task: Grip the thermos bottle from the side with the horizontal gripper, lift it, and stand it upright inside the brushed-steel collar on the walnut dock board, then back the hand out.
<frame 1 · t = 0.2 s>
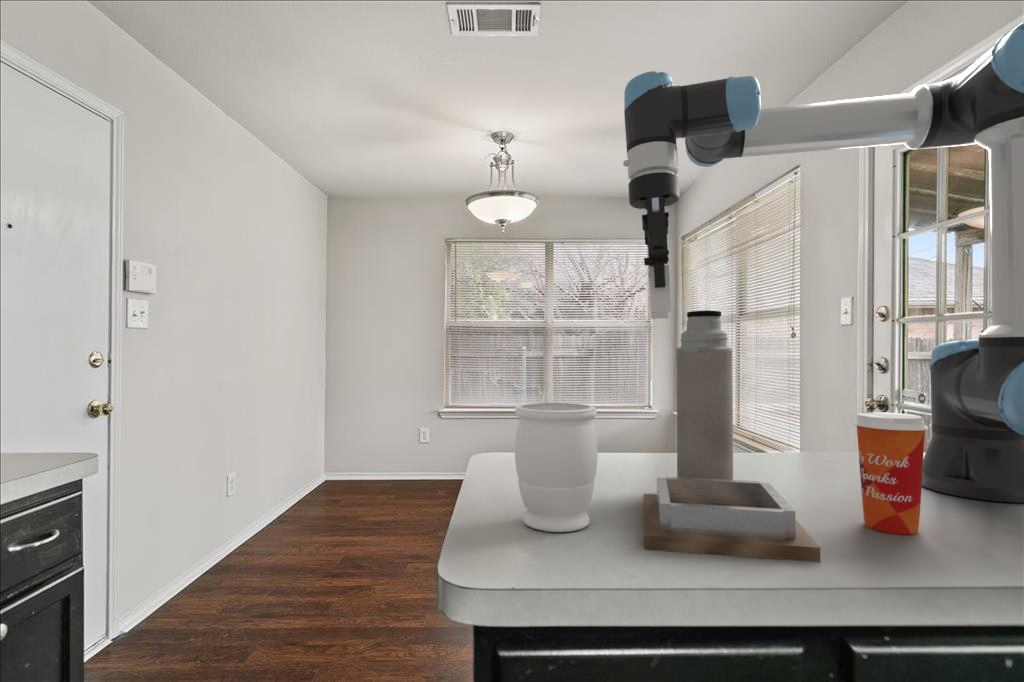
hand: (660, 315, 86), 27 cm above the counter, tool pointing down, fingers open, 13 cm apart
steel collar: (718, 504, 70), on the walnut dock board, point 3 cm above the counter
jar: (556, 524, 72), on the counter
walnut dock board: (718, 528, 69), on the counter
thermos bottle: (705, 498, 84), on the counter
paper cup: (891, 529, 70), on the counter
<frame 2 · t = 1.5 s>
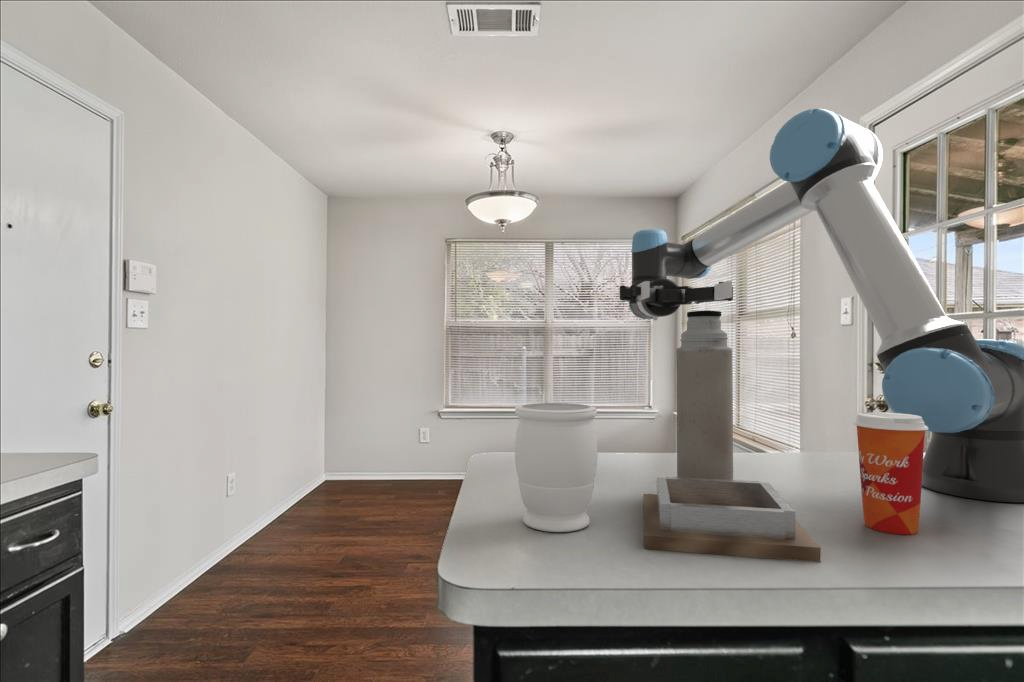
hand: (688, 289, 93), 32 cm above the counter, tool horizontal, fingers open, 13 cm apart
nothing on the counter moved.
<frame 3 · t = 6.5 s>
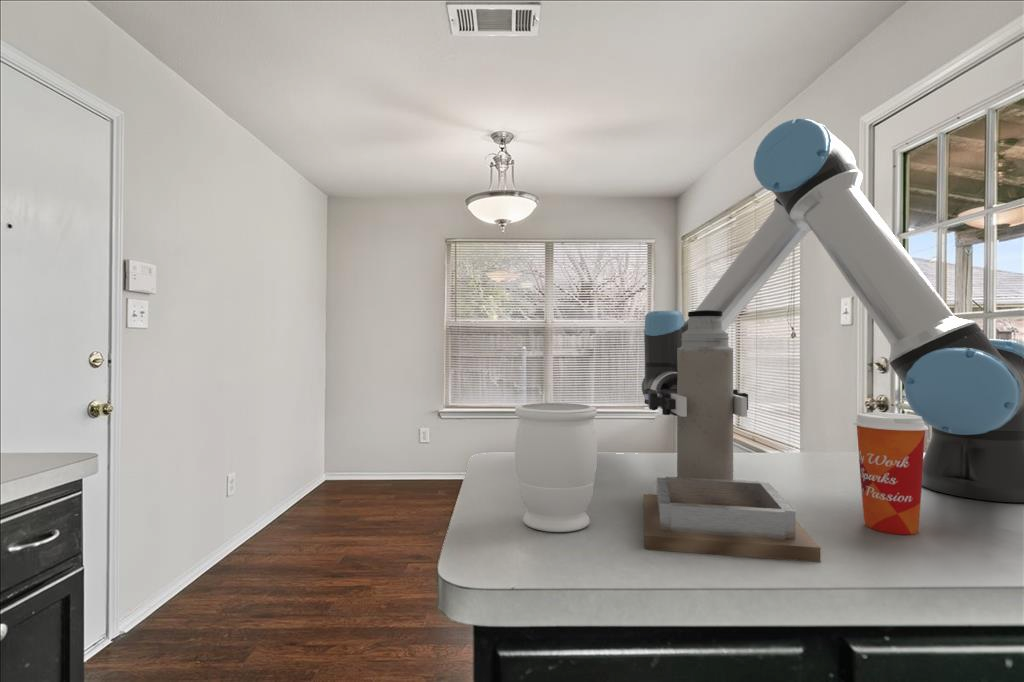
hand: (714, 407, 79), 14 cm above the counter, tool horizontal, fingers closed on thermos bottle, 8 cm apart
thermos bottle: (704, 498, 84), on the counter, touching gripper
everything else where it was.
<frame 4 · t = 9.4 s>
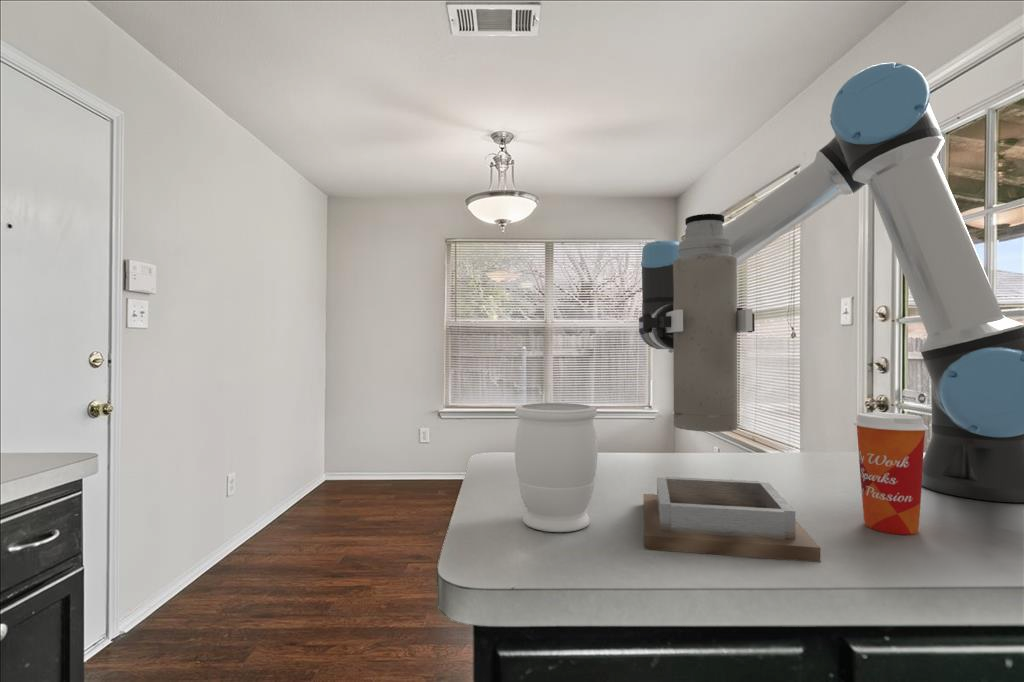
hand: (714, 320, 70), 26 cm above the counter, tool horizontal, fingers closed on thermos bottle, 8 cm apart
thermos bottle: (705, 428, 74), point 12 cm above the counter, touching gripper
everything else where it was.
when the fingers open (17 cm above the counter, at t = 12.4 s): thermos bottle moves 2 cm, resting on steel collar.
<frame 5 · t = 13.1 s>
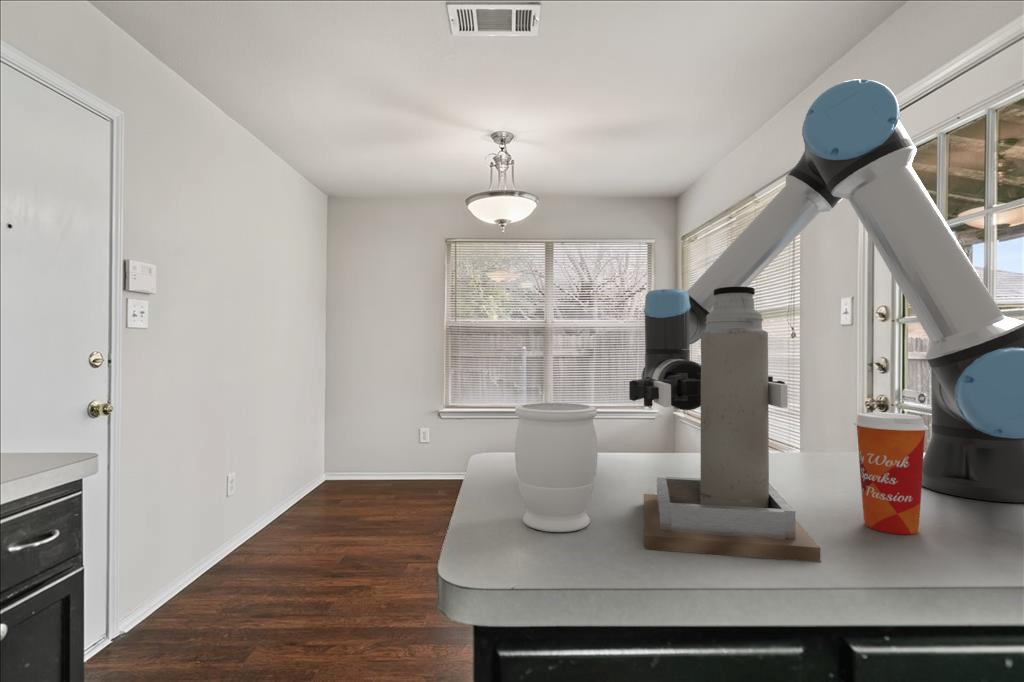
hand: (725, 396, 66), 17 cm above the counter, tool horizontal, fingers open, 13 cm apart
thermos bottle: (734, 511, 70), point 2 cm above the counter, touching gripper, steel collar
everything else where it was.
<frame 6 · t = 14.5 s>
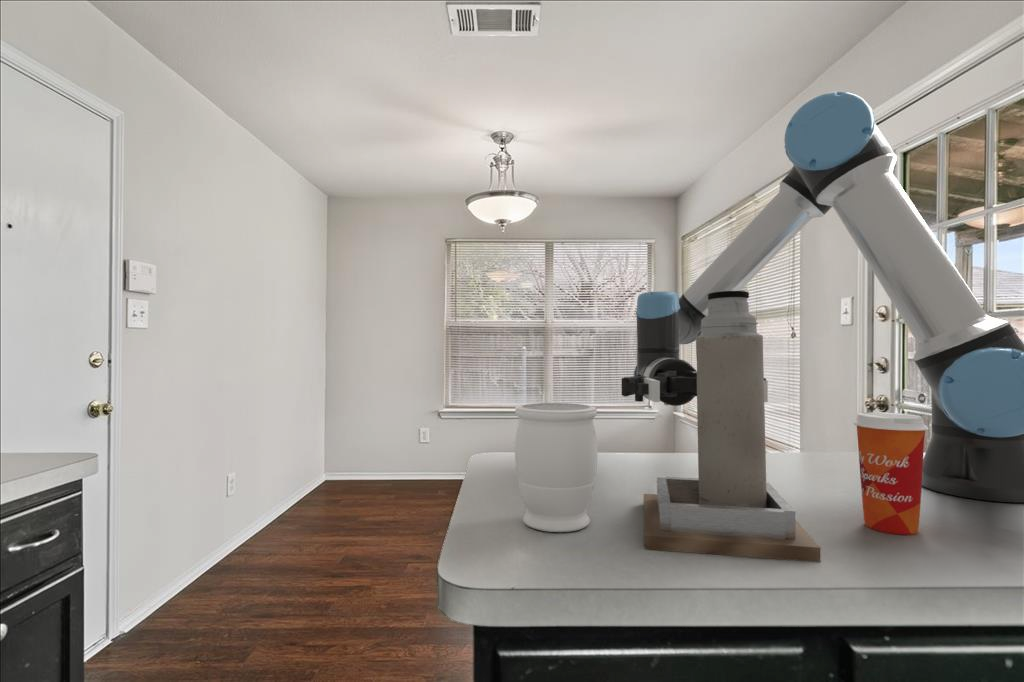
hand: (710, 391, 72), 17 cm above the counter, tool horizontal, fingers open, 13 cm apart
thermos bottle: (732, 514, 71), point 1 cm above the counter, touching walnut dock board
everything else where it was.
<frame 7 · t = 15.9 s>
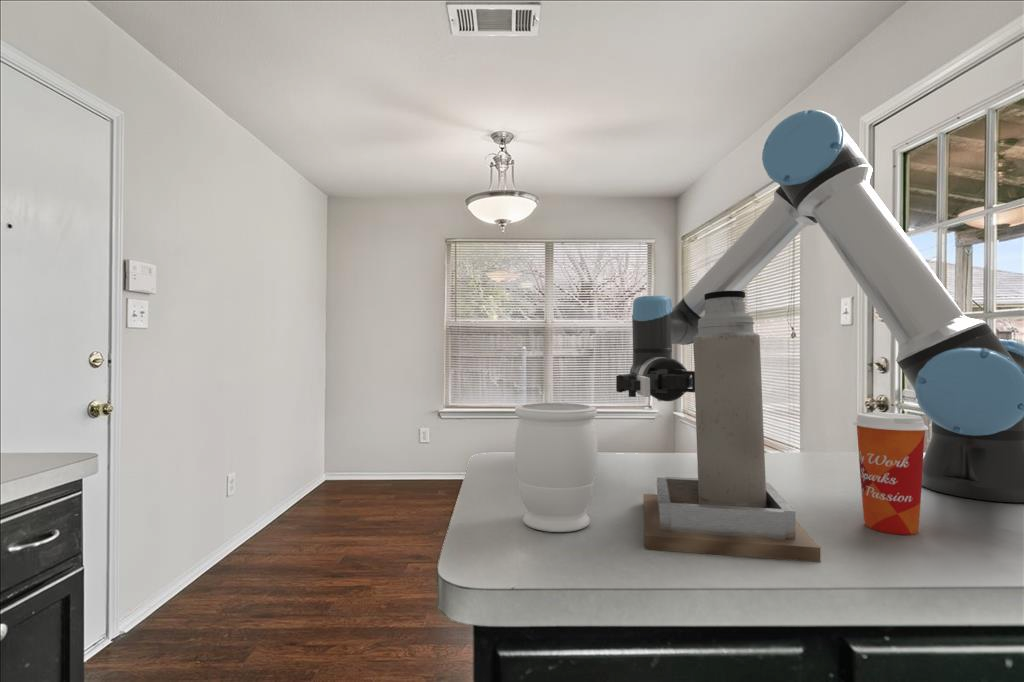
hand: (695, 387, 79), 17 cm above the counter, tool horizontal, fingers open, 13 cm apart
nothing on the counter moved.
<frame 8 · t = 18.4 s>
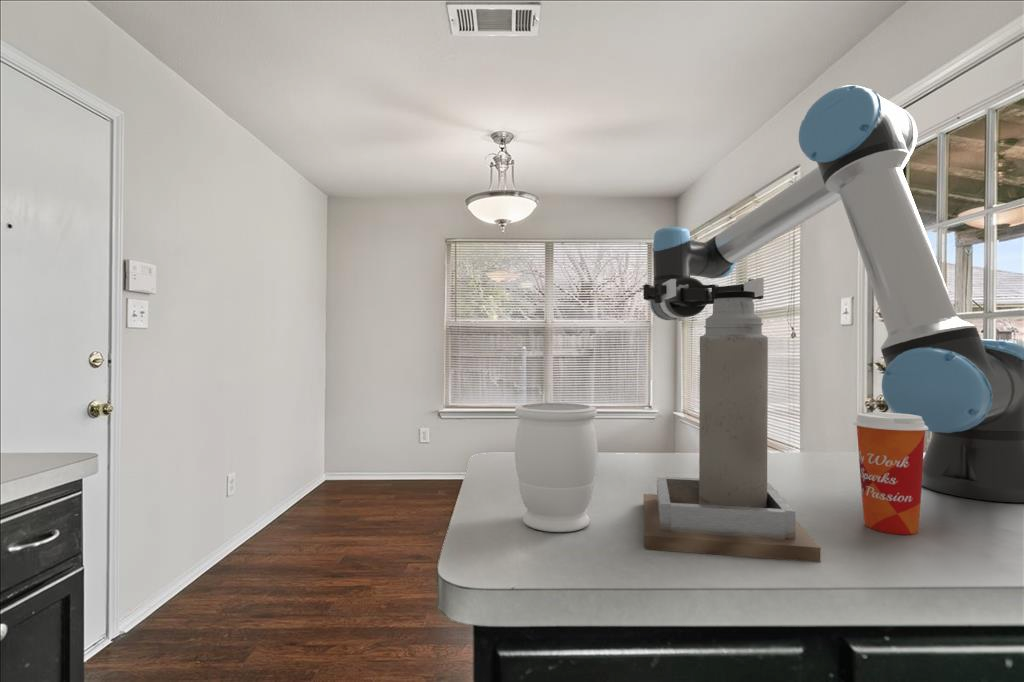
hand: (717, 287, 88), 32 cm above the counter, tool horizontal, fingers open, 13 cm apart
at the end: thermos bottle 2.4 cm off-centre on the walnut dock board, point 1.4 cm above the walnut dock board's base; thermos bottle tilted 1°; the gripper is holding nothing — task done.
